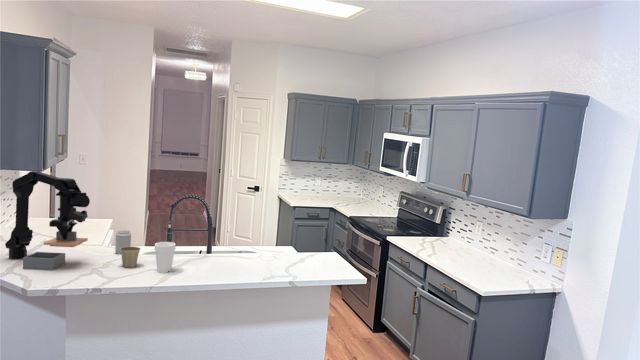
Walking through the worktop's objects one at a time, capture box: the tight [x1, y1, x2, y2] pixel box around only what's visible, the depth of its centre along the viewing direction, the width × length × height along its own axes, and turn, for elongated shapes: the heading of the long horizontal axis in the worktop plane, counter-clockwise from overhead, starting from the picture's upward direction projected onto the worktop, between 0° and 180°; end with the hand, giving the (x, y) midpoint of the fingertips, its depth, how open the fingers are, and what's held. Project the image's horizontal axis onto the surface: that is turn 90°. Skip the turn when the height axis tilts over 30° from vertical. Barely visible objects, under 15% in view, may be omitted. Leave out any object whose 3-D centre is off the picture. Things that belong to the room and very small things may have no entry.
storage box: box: [22, 251, 66, 271], centre depth 208 cm, size 13×11×6 cm
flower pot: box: [120, 246, 141, 268], centre depth 220 cm, size 9×9×9 cm
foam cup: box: [154, 241, 176, 273], centre depth 216 cm, size 10×9×13 cm
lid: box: [43, 230, 88, 248], centre depth 211 cm, size 14×12×6 cm
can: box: [114, 229, 132, 255], centre depth 243 cm, size 8×8×12 cm
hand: (66, 238), depth 211 cm, fingers closed on lid, 2 cm apart
